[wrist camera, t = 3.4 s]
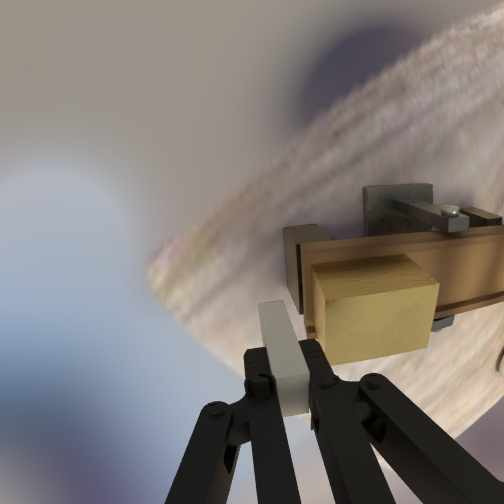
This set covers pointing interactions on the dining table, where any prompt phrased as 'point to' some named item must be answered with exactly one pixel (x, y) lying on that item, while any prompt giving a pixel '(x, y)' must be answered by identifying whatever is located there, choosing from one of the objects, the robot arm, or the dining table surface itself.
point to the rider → (372, 307)
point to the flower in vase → (501, 367)
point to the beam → (424, 264)
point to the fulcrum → (388, 227)
